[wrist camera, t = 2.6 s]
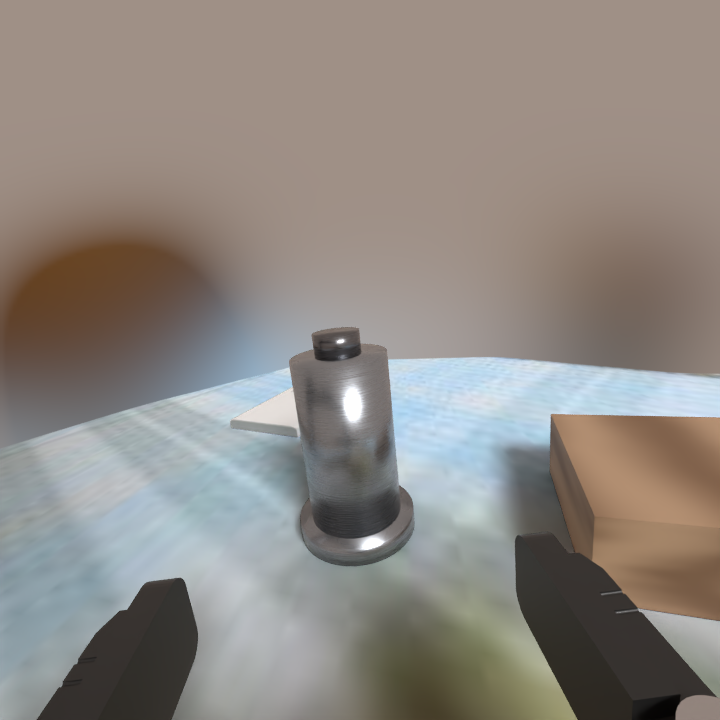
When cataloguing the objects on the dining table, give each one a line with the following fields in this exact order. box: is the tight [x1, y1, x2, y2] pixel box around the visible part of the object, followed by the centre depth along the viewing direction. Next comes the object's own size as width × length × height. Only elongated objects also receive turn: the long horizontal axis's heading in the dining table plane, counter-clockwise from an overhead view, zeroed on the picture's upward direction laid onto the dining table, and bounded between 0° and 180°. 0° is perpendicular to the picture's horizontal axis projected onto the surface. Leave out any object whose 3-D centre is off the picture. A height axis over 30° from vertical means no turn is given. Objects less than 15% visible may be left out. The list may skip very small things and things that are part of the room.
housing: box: [289, 327, 414, 566], centre depth 20 cm, size 6×6×11 cm
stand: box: [550, 414, 720, 621], centre depth 18 cm, size 10×10×4 cm
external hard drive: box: [230, 387, 300, 437], centre depth 41 cm, size 2×8×12 cm
